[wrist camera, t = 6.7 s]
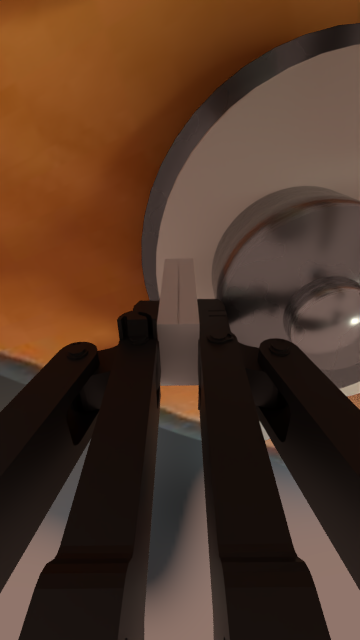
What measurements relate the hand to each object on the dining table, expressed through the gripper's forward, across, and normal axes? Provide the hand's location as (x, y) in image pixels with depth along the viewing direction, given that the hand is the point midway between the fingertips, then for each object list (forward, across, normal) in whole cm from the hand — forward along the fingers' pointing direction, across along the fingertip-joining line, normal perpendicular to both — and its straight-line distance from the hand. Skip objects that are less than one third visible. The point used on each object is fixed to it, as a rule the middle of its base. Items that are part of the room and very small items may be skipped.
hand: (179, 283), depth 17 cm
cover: (+1, +6, 0) cm, 6 cm away
